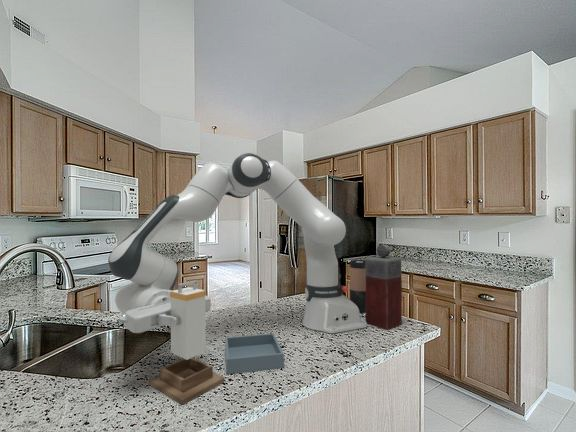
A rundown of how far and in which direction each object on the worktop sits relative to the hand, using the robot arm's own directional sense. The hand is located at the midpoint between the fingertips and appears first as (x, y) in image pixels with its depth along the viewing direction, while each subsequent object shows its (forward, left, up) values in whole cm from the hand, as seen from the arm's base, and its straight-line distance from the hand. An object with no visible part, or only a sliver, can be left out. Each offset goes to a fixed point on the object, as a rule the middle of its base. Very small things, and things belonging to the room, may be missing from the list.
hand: (190, 317), depth 70 cm
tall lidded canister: (0, -1, -8) cm, 8 cm away
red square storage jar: (-64, -27, -15) cm, 71 cm away
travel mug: (-62, -43, -15) cm, 77 cm away
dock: (+1, -1, -15) cm, 15 cm away
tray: (-15, -10, -15) cm, 23 cm away
